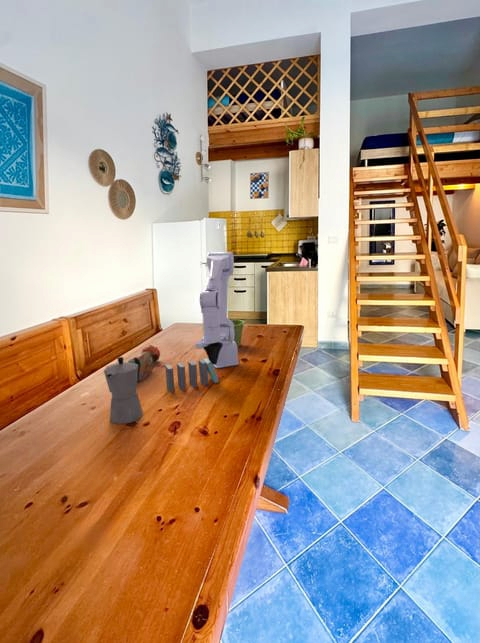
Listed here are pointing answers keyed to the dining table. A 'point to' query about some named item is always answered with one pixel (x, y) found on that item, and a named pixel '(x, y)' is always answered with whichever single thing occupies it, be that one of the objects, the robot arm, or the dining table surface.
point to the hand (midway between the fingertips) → (213, 363)
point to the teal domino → (211, 371)
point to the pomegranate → (153, 352)
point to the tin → (145, 364)
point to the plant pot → (237, 331)
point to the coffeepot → (124, 391)
